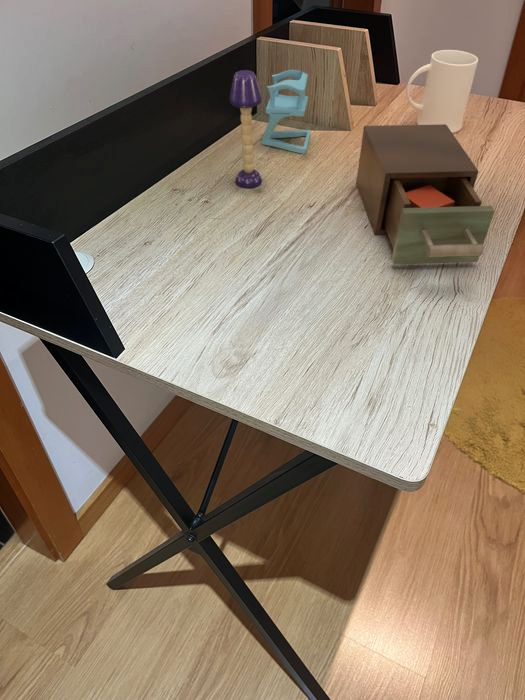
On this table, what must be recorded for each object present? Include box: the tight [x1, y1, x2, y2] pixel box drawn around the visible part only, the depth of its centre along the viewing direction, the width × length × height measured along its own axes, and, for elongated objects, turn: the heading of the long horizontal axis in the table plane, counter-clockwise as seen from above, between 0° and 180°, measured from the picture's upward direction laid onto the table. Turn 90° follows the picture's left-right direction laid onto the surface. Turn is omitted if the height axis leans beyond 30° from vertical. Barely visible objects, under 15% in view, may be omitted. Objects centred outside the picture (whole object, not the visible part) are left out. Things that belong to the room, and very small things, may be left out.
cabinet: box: [355, 124, 479, 236], centre depth 84 cm, size 15×13×10 cm
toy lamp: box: [229, 69, 263, 189], centre depth 86 cm, size 5×5×17 cm
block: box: [406, 185, 455, 208], centre depth 78 cm, size 5×5×5 cm
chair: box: [261, 69, 311, 155], centre depth 98 cm, size 8×8×12 cm
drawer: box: [382, 177, 496, 266], centre depth 76 cm, size 18×11×8 cm, turn 4°
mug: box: [405, 49, 479, 134], centre depth 105 cm, size 12×8×12 cm
